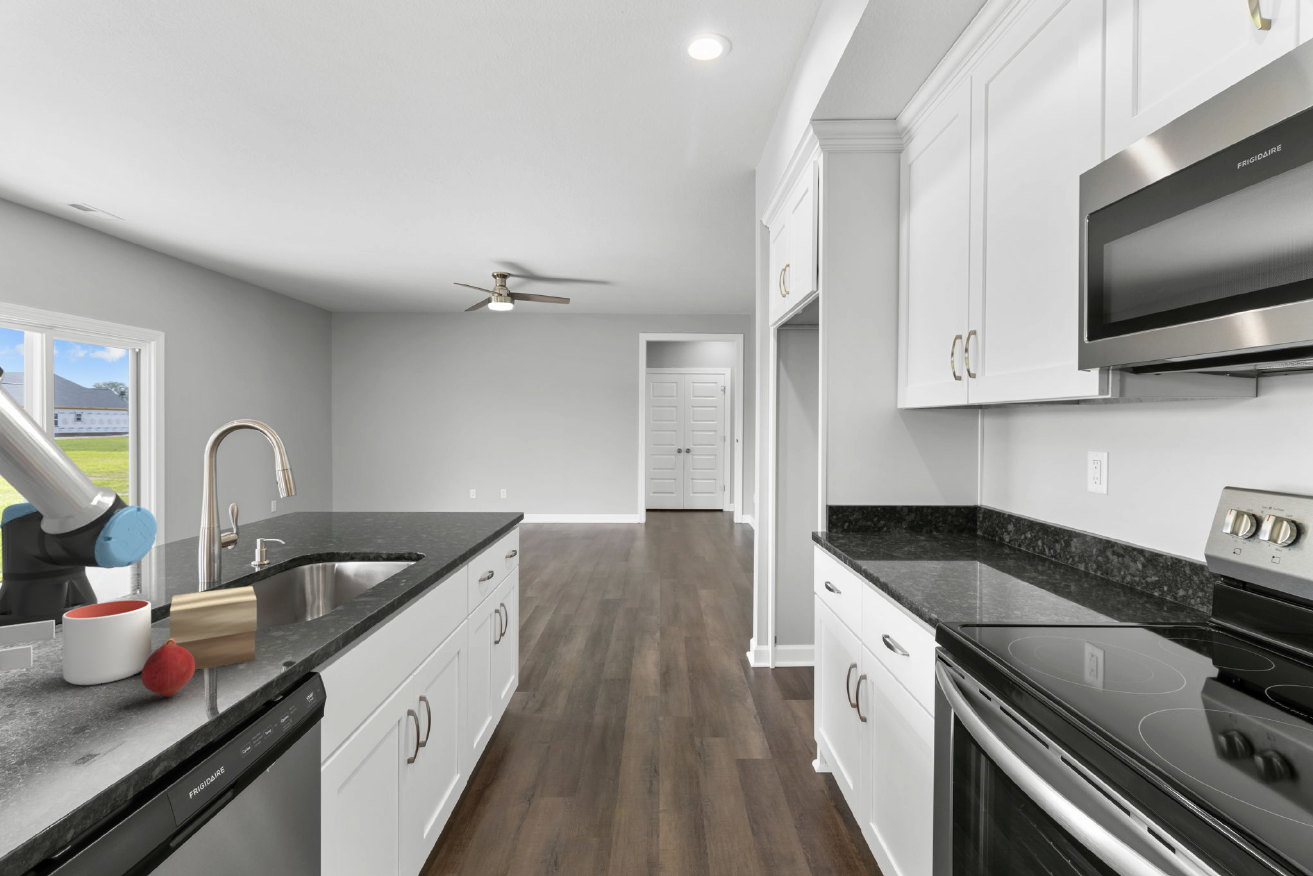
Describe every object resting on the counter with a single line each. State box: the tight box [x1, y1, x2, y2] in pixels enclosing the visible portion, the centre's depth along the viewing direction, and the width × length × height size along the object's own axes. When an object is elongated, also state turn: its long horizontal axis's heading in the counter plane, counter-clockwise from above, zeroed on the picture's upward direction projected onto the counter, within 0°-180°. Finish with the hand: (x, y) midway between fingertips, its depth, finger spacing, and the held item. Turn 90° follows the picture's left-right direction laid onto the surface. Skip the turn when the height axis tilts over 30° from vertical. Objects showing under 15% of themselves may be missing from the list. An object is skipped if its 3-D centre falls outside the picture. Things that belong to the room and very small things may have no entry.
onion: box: [140, 638, 196, 698], centre depth 86 cm, size 6×6×8 cm
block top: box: [169, 585, 258, 643], centre depth 101 cm, size 11×11×5 cm
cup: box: [61, 599, 152, 686], centre depth 94 cm, size 10×10×10 cm
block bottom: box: [176, 631, 256, 670], centre depth 101 cm, size 11×11×5 cm
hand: (44, 641), depth 89 cm, fingers open, 13 cm apart
